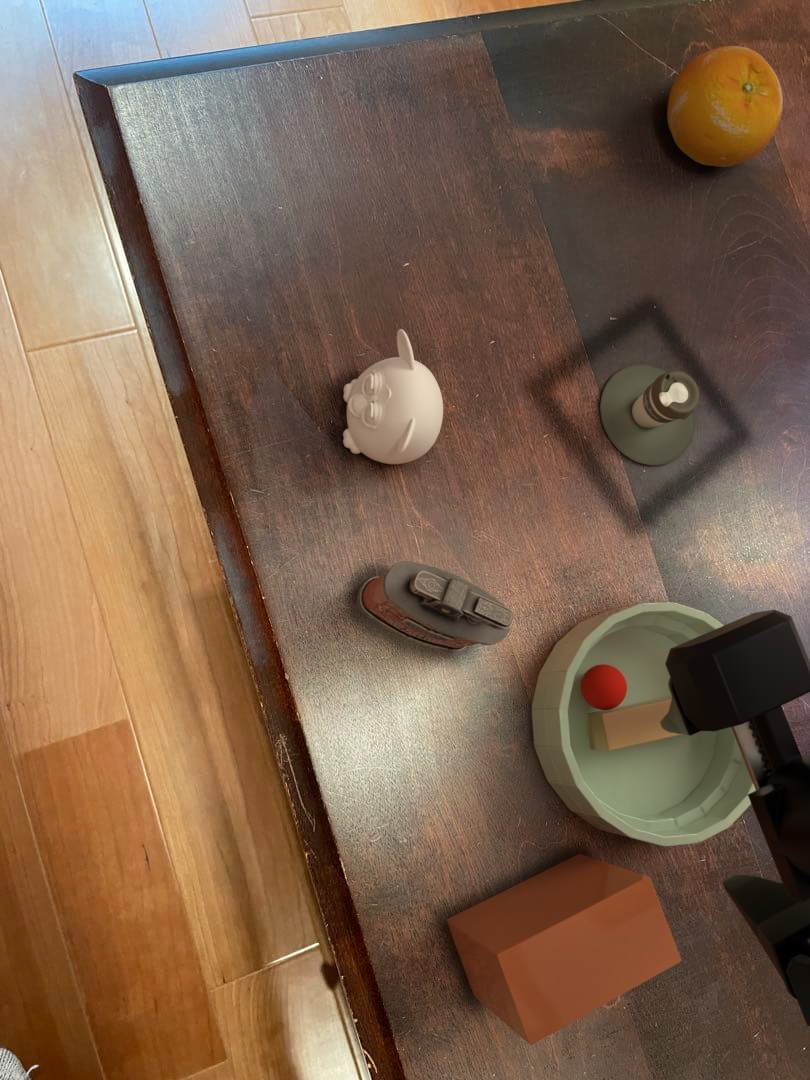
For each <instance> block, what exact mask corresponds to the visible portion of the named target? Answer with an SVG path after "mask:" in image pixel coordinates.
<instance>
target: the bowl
mask: <svg viewBox="0 0 810 1080" xmlns="http://www.w3.org/2000/svg"><path fill="white" fill-rule="evenodd" d="M722 626H724V624H722V622H720V621H718V620H717V619H715V618H714V617H713V616H711V615H710V614H709V613H707V612H706V611H702V610H700V609H697V608H693V607H691V606H687V605H684V604H681V603H678V602H673V601H667V602H665V601H662V602H661V601H660V602H641V603H635V604H631V605H627V606H622V607H617V608H613V609H609V610H606V611H603V612H601V613H598V614H596V615H594V616H591V617H588V618H586V619H584V620H581V621H580V622H578V623H577V624H576V625H575V626H573V628H572V629H570V631H568V632H567V633H566V634H565V635H564V636H563V637H562V638H560V639H559V640H558V641H557V642H556V643H555V645H554V646H553V648H552V650H551V651H550V654H549V655H548V657H547V658H546V661H545V662H544V664H543V665H542V667H541V670H540V671H539V673H538V677H537V681H536V684H535V689H534V694H533V695H534V696H533V699H532V702H531V703H532V704H531V721H532V722H531V723H532V732H533V733H532V734H533V745H534V746H533V747H534V750H535V752H536V755H537V758H538V761H539V762H540V765H541V769H542V771H543V773H544V777H545V778H546V781H547V782H548V784H549V785H550V786H551V787H552V789H553V790H554V791H555V793H556V795H557V796H559V798H560V799H561V801H563V803H564V804H565V806H566V807H567V808H568V809H569V811H571V812H572V813H574V814H575V815H577V817H579V818H581V819H583V820H584V821H585V822H587V823H588V824H590V825H591V826H593V827H594V828H596V829H597V830H599V831H603V832H607V833H609V834H610V833H611V834H615V835H618V836H622V837H626V838H630V839H634V840H637V841H640V842H645V843H648V844H651V845H656V846H660V847H674V846H675V847H676V846H685V845H695V844H699V843H702V842H703V841H706V840H707V839H710V838H712V837H714V836H715V835H717V834H719V833H721V832H723V831H725V830H727V829H729V828H730V827H732V825H733V824H734V823H735V822H736V821H737V820H738V819H739V818H740V816H741V815H742V814H743V813H745V811H746V810H747V809H748V808H749V807H750V806H752V804H751V802H750V799H749V797H748V794H750V793H752V792H754V791H756V789H755V787H754V784H753V782H752V779H751V776H750V774H749V771H748V769H747V766H746V764H745V761H744V759H743V756H742V754H741V751H740V749H739V746H738V744H737V741H736V739H735V736H734V734H733V731H732V728H731V727H729V728H725V729H722V730H718V731H700V732H698V733H696V734H693V735H691V736H689V735H679V736H674V737H670V738H665V739H661V740H656V741H652V742H647V743H643V744H638V745H634V746H629V747H625V748H620V749H616V750H611V751H604V750H593V749H591V747H590V742H589V737H588V732H587V727H586V722H585V717H584V714H585V713H590V712H595V711H600V710H599V709H596V708H594V707H592V706H591V705H589V704H588V703H587V702H586V700H585V699H584V697H583V695H582V692H581V681H582V678H583V676H584V674H585V673H586V672H587V671H588V670H589V669H590V668H592V667H594V666H596V665H601V664H605V665H610V666H613V667H615V668H616V669H618V670H619V671H620V672H621V673H622V674H623V676H624V678H625V680H626V683H627V693H626V696H625V698H624V700H623V701H622V703H621V704H620V705H618V706H617V707H619V706H624V705H628V704H633V703H638V702H643V701H648V700H652V699H657V698H662V697H667V696H671V693H670V690H669V687H668V682H669V679H670V675H669V672H668V670H667V667H666V665H665V663H666V660H667V657H668V654H669V651H670V649H671V648H673V647H675V646H678V645H680V644H682V643H685V642H687V641H689V640H692V639H694V638H696V637H699V636H701V635H703V634H706V633H708V632H710V631H713V630H715V629H717V628H720V627H722Z"/></svg>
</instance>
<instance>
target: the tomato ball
mask: <svg viewBox="0 0 810 1080" xmlns="http://www.w3.org/2000/svg"><path fill="white" fill-rule="evenodd" d="M581 692H582V695H583V697H584V699H585V700H586V702H587V703H588V704H589V705H591V706H592V707H594V708H596V709H599V710H610V709H613V708H615V707H617V706H618V705H620V704H621V703H622V701H623V700H624V698H625V696H626V693H627V683H626V680H625V678H624V676H623V674H622V673H621V672H620V671H619V670H618V669H616V668H615V667H613V666H610V665H605V664H601V665H596V666H594V667H592V668H590V669H589V670H588V671H587V672H586V673H585V674H584V676H583V678H582V681H581Z"/></svg>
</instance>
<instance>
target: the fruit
mask: <svg viewBox="0 0 810 1080" xmlns="http://www.w3.org/2000/svg"><path fill="white" fill-rule="evenodd" d="M783 97H784V96H783V90H782V85H781V83H780V80H779V78H778V76H777V74H776V72H775V71H774V69H773V68H772V66H771V65H770V64H769V62H768V61H767V60H766V59H765V58H764V57H763V56H762V55H761V54H760V53H758V52H757V51H755V50H753V49H751V48H749V47H745V46H738V45H725V46H719V47H716V48H712V49H710V50H708V51H704V52H703V53H701V54H699V55H697V56H695V57H694V58H693V59H691V60H690V61H689V62H688V63H687V64H686V65H685V66H684V67H683V68H682V69H681V70H680V72H679V73H678V74H677V76H676V77H675V80H674V82H673V84H672V86H671V89H670V93H669V96H668V101H667V109H666V111H667V114H666V118H667V126H668V128H669V131H670V134H671V136H672V138H673V140H674V143H675V145H676V147H678V148H679V150H681V152H682V153H683V154H684V155H686V156H687V157H689V158H690V159H692V160H693V161H694V162H696V163H698V164H700V165H703V166H709V167H711V166H712V167H721V168H724V167H725V168H727V167H728V168H729V167H733V166H736V165H740V164H742V163H744V162H747V161H749V160H750V159H752V158H754V157H756V156H757V155H759V154H760V153H761V152H762V151H763V150H764V149H765V148H766V147H767V146H768V144H769V143H770V141H772V138H773V137H774V135H775V133H776V131H777V129H778V127H779V124H780V121H781V119H782V116H783V109H784V108H783V107H784V99H783Z"/></svg>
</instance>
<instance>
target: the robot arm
mask: <svg viewBox="0 0 810 1080" xmlns="http://www.w3.org/2000/svg"><path fill="white" fill-rule="evenodd" d="M723 625H724V624H723ZM665 665H666V667H667V670H668V672H669V675H670V679H669V682H668V687H669V690H670V693H671V696H672V700H671V704H670V708H669V712H668V713H667V714H666V715H665V717H664V718H663V719H662V720H661V721H660V724H661V726H662V728H663V729H664V730H666V731H667V732H670V733H676V734H682V735H689V736H691V735H693V734H696V733H698V732H700V731H718V730H722V729H725V728H729V727H731V728H732V731H733V734H734V736H735V739H736V741H737V744H738V746H739V749H740V751H741V754H742V756H743V759H744V761H745V764H746V766H747V769H748V771H749V774H750V776H751V779H752V782H753V784H754V787H755V789H756V791H754V792H752V793H750V794H748V797H749V799H750V802H751V806H752V809H753V812H754V814H755V816H756V819H757V822H758V825H759V827H760V829H761V832H762V834H763V837H764V839H765V843H766V845H767V847H768V849H769V852H770V855H771V858H772V860H773V863H774V865H775V867H776V870H777V873H778V876H779V878H780V880H781V882H780V881H775V880H772V879H768V878H764V877H761V876H756V875H748V874H740V873H737V874H734V875H732V876H730V877H728V878H726V879H725V880H723V881H722V885H723V887H724V890H725V891H726V893H727V895H728V896H729V897H730V899H731V901H732V902H733V904H734V905H735V907H736V908H737V909H738V911H739V912H740V914H741V915H742V917H743V919H744V920H745V922H746V924H747V925H748V926H749V928H750V929H751V931H752V932H753V934H754V936H755V937H756V939H757V940H758V942H759V944H760V945H761V947H762V949H763V950H764V951H765V953H766V955H767V957H768V958H769V960H770V962H771V963H772V965H773V966H774V968H775V970H776V971H777V973H778V974H779V976H780V977H781V980H782V982H783V984H784V986H785V988H786V991H787V993H788V994H789V995H790V996H791V997H792V998H793V999H795V1000H796V1002H797V1004H798V1006H799V1008H800V1011H801V1014H802V1016H803V1019H804V1021H805V1024H806V1026H808V1027H810V755H802V753H801V751H800V749H799V746H798V743H797V741H796V739H795V737H794V734H793V731H792V729H791V726H790V724H789V722H788V721H789V720H788V719H787V716H786V714H785V711H784V709H783V705H786V704H787V703H790V702H792V701H794V700H796V699H799V698H800V697H803V696H805V695H807V694H809V693H810V659H809V657H808V655H807V652H806V650H805V647H804V644H803V642H802V640H801V637H800V634H799V632H798V629H797V627H796V625H795V622H794V620H793V617H792V615H790V614H787V613H784V612H782V611H780V610H776V609H770V610H769V609H768V610H764V611H757V612H752V613H750V614H747V615H745V616H743V617H741V618H739V619H735V620H734V621H731V622H729V623H727V624H725V625H724V626H722V627H720V628H717V629H715V630H713V631H710V632H708V633H706V634H703V635H701V636H699V637H696V638H694V639H692V640H689V641H687V642H685V643H682V644H680V645H678V646H675V647H673V648H671V649H670V651H669V654H668V657H667V660H666V663H665Z"/></svg>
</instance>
